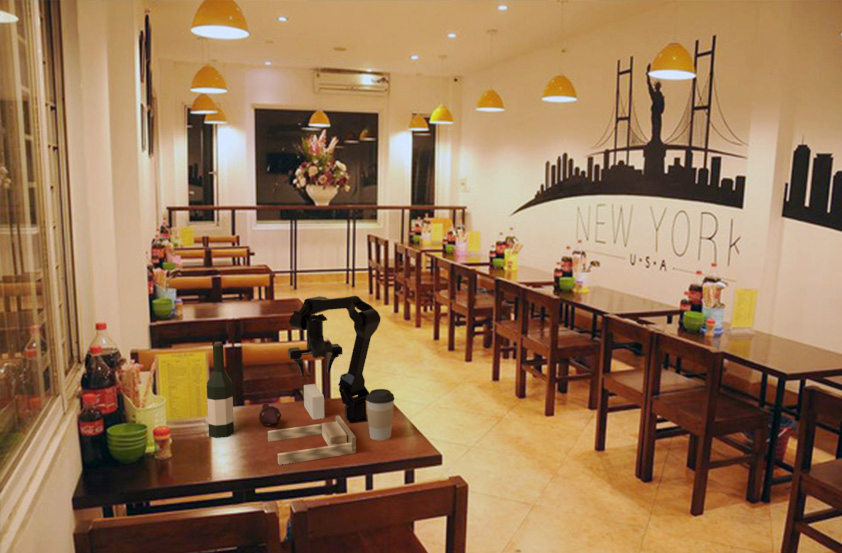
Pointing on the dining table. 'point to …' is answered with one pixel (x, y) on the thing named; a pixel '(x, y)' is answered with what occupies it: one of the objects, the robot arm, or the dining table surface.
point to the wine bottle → (220, 397)
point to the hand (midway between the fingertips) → (315, 374)
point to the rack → (314, 452)
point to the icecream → (269, 415)
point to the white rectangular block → (314, 401)
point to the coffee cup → (380, 413)
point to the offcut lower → (328, 441)
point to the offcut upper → (334, 433)
